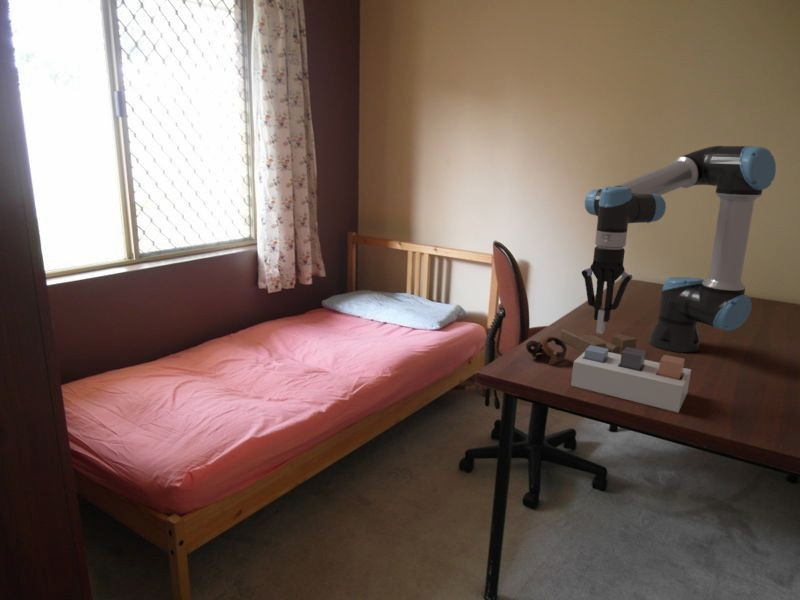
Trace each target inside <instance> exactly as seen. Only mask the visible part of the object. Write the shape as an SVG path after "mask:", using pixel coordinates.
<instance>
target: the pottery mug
mask: <svg viewBox="0 0 800 600" xmlns="http://www.w3.org/2000/svg"><path fill="white" fill-rule="evenodd" d="M560 339H561V338H559V337H555V336H547V337H545V338H542V339H541V340H539V341H536V340H529V341H528V342H527V343H526V345H525V348H526V351H527V352H528V353H529V354H531V356H532V357H533V358H536V357H537V354H543V355H546V354H547V355H548V356H549V357H550V358H549V361H548V365H551V366H553V365H556V364H557V363H559V362H562V361H563V360H564V359H565V358H566V353H567V351H568V348H567V345H566V343H565V342H563V341H561V340H560ZM552 341H553V342H554V343H555V345H557V346H559V347H561V348H562V351H560V352H559V351H556V354H554V353H555V351H554V349H552V348H551V347H550V345H549V344H548V343H551V342H552ZM532 347H533V348H532Z"/></svg>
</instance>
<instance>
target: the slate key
mask: <svg viewBox="0 0 800 600" xmlns="http://www.w3.org/2000/svg"><path fill="white" fill-rule="evenodd" d="M608 351H609V349H607V348H602V347H597V346H592V345H590V346H589V347H588V348H587V349H586V350H585V356H584V359H587V360H592V361H596V362H601V363H605V362H606V361H607V358H608Z"/></svg>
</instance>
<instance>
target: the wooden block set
mask: <svg viewBox="0 0 800 600" xmlns="http://www.w3.org/2000/svg"><path fill="white" fill-rule="evenodd" d="M559 339H560V340H561V341H562V342H563V343H564V344H567V345H569V346H571V347H573V348H574V349H575V350H578V351H580V352H582V354H583V353H584V352H585V350H586V349H587V348H588V347H589V346H590V345H592V346H597V347H602V348H607V349H609V351H608V352H611V353H616V354H622V351H623V350H624V349H625V348H626V347H629V348H634V349H636V347H637V346H636V345H637V338H636V337H632V336H629V335H625V334H622V333H617V334H615V335H612V340H611V342H610V341H607V340H605V339H603V338H601V337H600V336H599V337H598V336H596V335H594V334H590V335H588V334H585V333H582V332H580V331H578V330H575V329H569V328H562V329H561V332H560V338H559Z"/></svg>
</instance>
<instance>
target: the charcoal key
mask: <svg viewBox="0 0 800 600" xmlns="http://www.w3.org/2000/svg"><path fill="white" fill-rule="evenodd" d="M646 352H647V351H646V350H643V349H637V348H635V349H634V348H629V347H626V348H625V349H624V350H623V351H622V353H620V355H621V362H620V367H623V368H628V369H632V370H637V371H642V369H643V367H644V360H646Z"/></svg>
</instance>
